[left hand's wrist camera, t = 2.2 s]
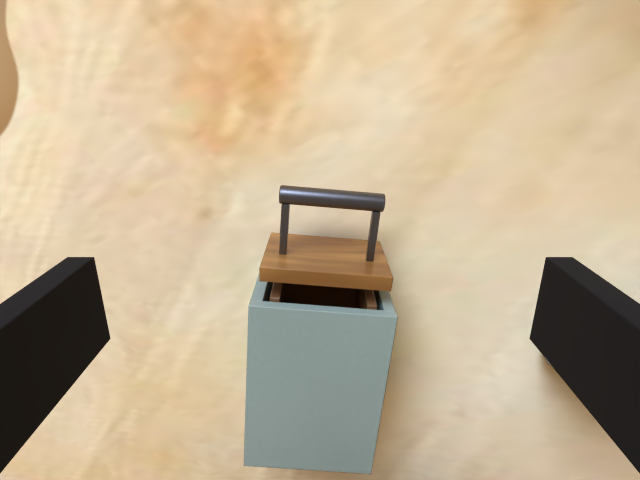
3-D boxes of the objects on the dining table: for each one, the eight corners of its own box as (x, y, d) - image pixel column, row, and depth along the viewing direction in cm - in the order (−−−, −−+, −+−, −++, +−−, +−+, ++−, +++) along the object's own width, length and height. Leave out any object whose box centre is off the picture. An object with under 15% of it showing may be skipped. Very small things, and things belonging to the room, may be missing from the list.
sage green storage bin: (264, 255, 41) (248, 305, 32) (380, 265, 41) (398, 317, 32) (258, 390, 46) (243, 466, 37) (361, 397, 47) (371, 474, 38)
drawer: (274, 171, 37) (262, 194, 30) (388, 181, 37) (404, 205, 30) (264, 365, 44) (253, 422, 37) (361, 372, 44) (368, 430, 37)
